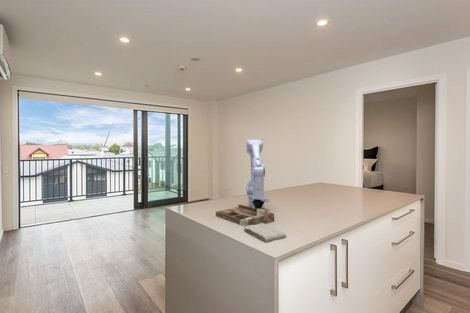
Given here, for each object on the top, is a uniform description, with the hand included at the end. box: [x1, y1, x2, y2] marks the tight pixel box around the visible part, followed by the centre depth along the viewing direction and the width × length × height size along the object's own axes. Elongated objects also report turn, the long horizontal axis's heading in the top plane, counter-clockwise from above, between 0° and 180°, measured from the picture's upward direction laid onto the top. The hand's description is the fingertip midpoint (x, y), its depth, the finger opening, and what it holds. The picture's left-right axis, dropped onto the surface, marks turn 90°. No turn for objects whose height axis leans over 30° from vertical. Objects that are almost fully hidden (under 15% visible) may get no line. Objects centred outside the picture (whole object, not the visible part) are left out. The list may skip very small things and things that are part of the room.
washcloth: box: [243, 223, 287, 243], centre depth 111 cm, size 12×18×3 cm, turn 31°
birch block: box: [257, 207, 271, 217], centre depth 131 cm, size 5×5×4 cm
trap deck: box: [215, 204, 275, 227], centre depth 136 cm, size 18×28×4 cm, turn 40°
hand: (258, 213), depth 134 cm, fingers closed
